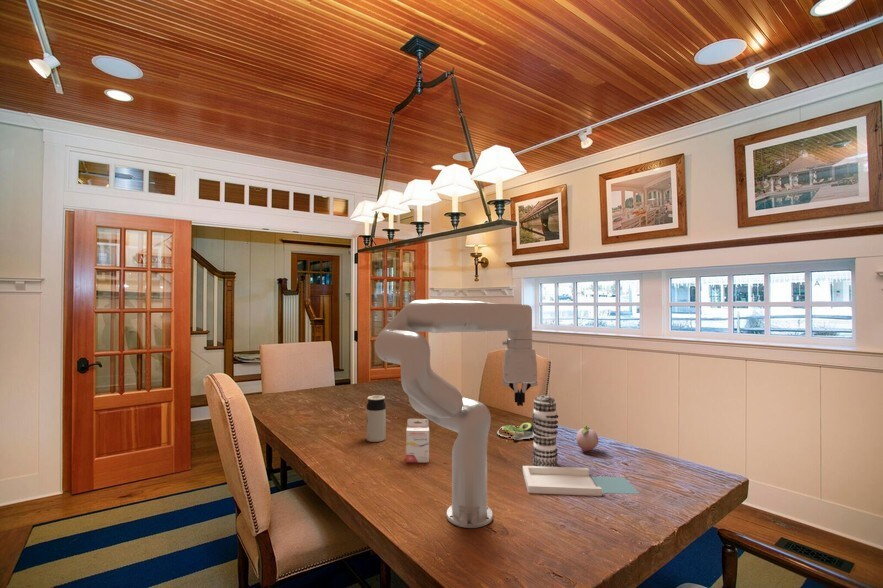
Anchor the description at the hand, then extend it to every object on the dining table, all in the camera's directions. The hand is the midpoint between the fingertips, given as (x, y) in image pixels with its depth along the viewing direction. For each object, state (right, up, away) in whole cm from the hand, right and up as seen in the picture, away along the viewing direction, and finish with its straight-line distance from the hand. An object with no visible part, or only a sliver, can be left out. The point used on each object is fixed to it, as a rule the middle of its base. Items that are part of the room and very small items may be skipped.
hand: (519, 404), depth 130 cm
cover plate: (+30, -28, +4) cm, 41 cm away
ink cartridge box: (-33, -28, +27) cm, 51 cm away
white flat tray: (+15, -27, +5) cm, 31 cm away
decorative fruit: (+33, -28, +37) cm, 57 cm away
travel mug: (-52, -28, +51) cm, 78 cm away
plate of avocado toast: (+10, -29, +59) cm, 66 cm away
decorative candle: (+13, -28, +20) cm, 37 cm away
